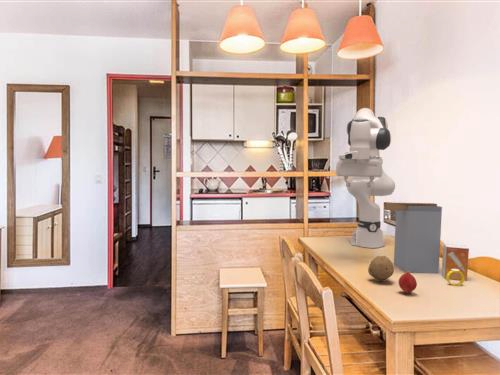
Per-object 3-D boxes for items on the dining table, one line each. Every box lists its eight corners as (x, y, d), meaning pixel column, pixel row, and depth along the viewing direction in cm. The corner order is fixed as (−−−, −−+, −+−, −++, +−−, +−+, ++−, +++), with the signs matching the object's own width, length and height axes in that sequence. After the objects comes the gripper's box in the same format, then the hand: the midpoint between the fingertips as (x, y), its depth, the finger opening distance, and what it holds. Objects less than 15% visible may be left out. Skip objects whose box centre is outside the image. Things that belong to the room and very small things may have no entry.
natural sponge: (398, 285, 138) (399, 258, 137) (376, 286, 136) (377, 259, 136) (385, 277, 147) (386, 253, 146) (365, 278, 145) (365, 253, 145)
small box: (444, 278, 147) (446, 246, 146) (441, 274, 153) (443, 243, 152) (467, 281, 144) (469, 248, 144) (463, 276, 150) (465, 245, 150)
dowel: (384, 209, 157) (384, 202, 157) (433, 210, 157) (433, 203, 157) (386, 210, 154) (386, 203, 154) (436, 211, 154) (437, 204, 154)
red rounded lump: (395, 290, 131) (396, 268, 131) (410, 290, 132) (411, 268, 131) (403, 296, 126) (404, 273, 125) (419, 296, 126) (420, 273, 126)
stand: (393, 265, 166) (396, 203, 164) (424, 265, 166) (427, 203, 165) (405, 272, 154) (408, 206, 152) (438, 273, 154) (441, 206, 153)
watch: (449, 286, 138) (448, 271, 138) (445, 284, 141) (445, 268, 141) (465, 286, 138) (465, 270, 138) (461, 283, 141) (461, 268, 140)
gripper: (380, 156, 167) (378, 186, 168) (335, 155, 166) (334, 186, 167) (385, 155, 161) (384, 187, 162) (339, 155, 160) (338, 186, 161)
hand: (358, 186), depth 164 cm, fingers open, 8 cm apart
